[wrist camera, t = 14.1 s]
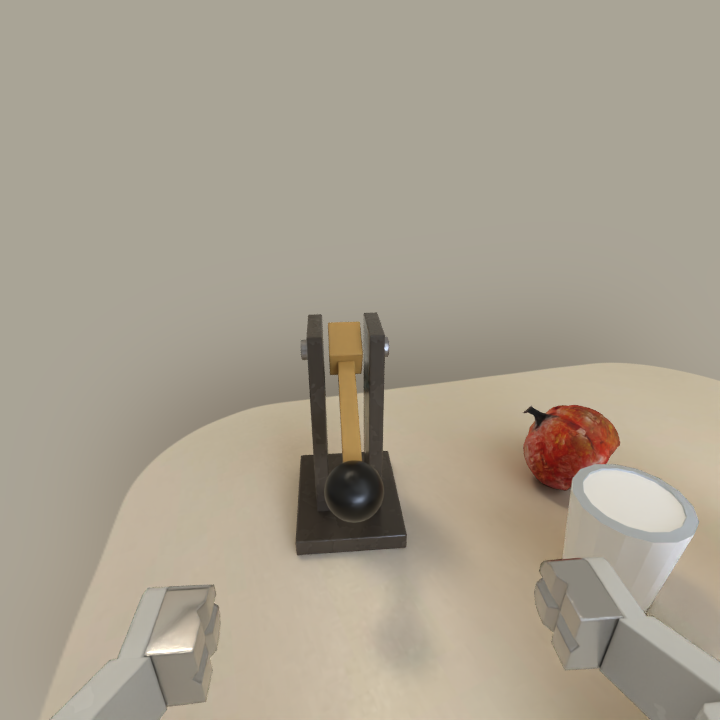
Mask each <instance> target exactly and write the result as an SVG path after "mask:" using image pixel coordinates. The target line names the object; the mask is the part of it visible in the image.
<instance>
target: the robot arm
mask: <svg viewBox="0 0 720 720" xmlns="http://www.w3.org/2000/svg"><path fill="white" fill-rule="evenodd" d="M539 572H540V574H541V576H542V578H541V579H540V580H539V581H538V582H537V583H536V586H535V591H534V596H535V605H536V608H537V611H538V614H539V616H540V619H541V621H542V623H543V624H544V625H545V626H546V627H547V628H549V629H550V630H551V631H552V632H553V636H552V641H551V642H552V644H553V647H554V649H555V651H556V653H557V655H558V657H559V659H560V661H561V663H562V665H563V668H564V670H577V669H595V668H600V671H601V672H602V673H603V674H604V675H605V676H606V677H607V678H608V679H609V680H610V681H611V682H612V683H613V684H614V685H615V686H616V687H617V688H618V689H619V690H620V691H621V692H622V693H623V694H625V695H626V696H627V697H628V698H629V699H630V700H631V701H632V702H633V703H634V704H635V705H636V706H637V707H638V708H639V709H640V710H641V711H642V712H643V713H644V714H645V715H646V716H647V717H648V718H649V719H650V720H720V662H719V661H718V660H716V659H715V658H713V657H712V656H711V655H709V654H708V653H706V652H705V651H703V650H702V649H700V648H699V647H697V646H696V645H694V644H693V643H691V642H690V641H688V640H687V639H686V638H684V637H683V636H681V635H680V634H678V633H677V632H675V631H674V630H672V629H671V628H669V627H668V626H666V625H665V624H664V623H662V622H661V621H659V620H658V619H656V618H655V617H653V616H646V614H645V613H644V612H643V610H642V609H641V607H640V606H639V604H638V603H637V602H636V600H635V599H634V597H633V596H632V595H631V593H630V592H629V590H628V589H627V587H626V586H625V585H624V583H623V582H622V580H621V579H620V578H619V576H618V575H617V573H616V572H615V570H614V569H613V568H612V566H611V565H610V563H609V562H608V561H607V560H606V559H605V558H604V557H589V558H570V559H558V560H547V561H544V562H542V563H541V566H540V570H539ZM215 597H216V591H215V587H214V585H193V586H169V587H152V588H147V589H146V591H145V592H144V593H143V595H142V597H141V600H140V602H139V605H138V607H137V610H136V612H135V615H134V617H133V620H132V622H131V625H130V627H129V630H128V632H127V635H126V637H125V640H124V642H123V645H122V648H121V650H120V653H119V655H118V658H117V659H113V660H109V661H108V662H107V663H106V664H105V665H104V666H103V667H102V668H101V669H100V670H99V671H98V672H97V673H96V674H95V675H94V676H93V677H92V678H91V679H90V680H89V681H88V682H87V683H86V684H85V685H84V686H83V687H82V688H81V689H80V690H79V691H78V692H77V693H76V694H75V695H74V696H73V697H72V698H71V699H70V700H69V701H68V702H67V703H66V704H65V705H64V706H63V707H62V708H61V709H60V710H59V711H58V712H57V713H56V714H55V715H54V716H53V717H52V718H51V719H50V720H160V718H161V717H162V716H163V714H164V713H165V711H166V710H167V707H168V706H177V705H185V704H193V703H202V702H206V700H207V695H208V690H209V686H210V681H211V676H212V671H213V669H212V665H211V660H210V657H211V656H212V655H213V654H214V653H215V651H216V650H217V646H218V641H219V634H220V611H219V606H218V605H216V604H215V603H214V601H215Z"/></svg>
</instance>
